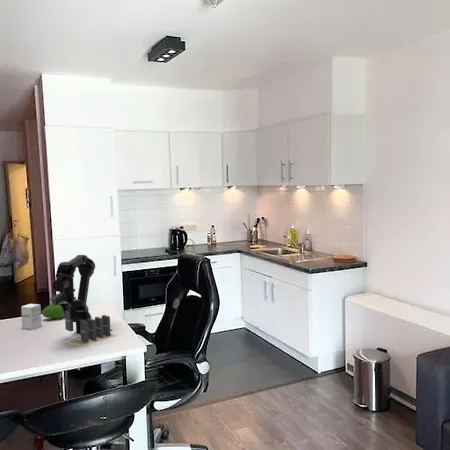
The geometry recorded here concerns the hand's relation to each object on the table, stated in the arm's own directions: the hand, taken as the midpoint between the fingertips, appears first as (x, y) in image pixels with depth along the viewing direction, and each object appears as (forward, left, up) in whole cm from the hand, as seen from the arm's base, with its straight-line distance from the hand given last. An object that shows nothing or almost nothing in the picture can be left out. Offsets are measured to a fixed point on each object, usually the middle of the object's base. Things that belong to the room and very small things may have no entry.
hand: (69, 318), depth 232 cm
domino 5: (+18, +3, -12) cm, 22 cm away
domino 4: (+14, +1, -12) cm, 18 cm away
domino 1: (0, 0, -6) cm, 6 cm away
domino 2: (+7, -3, -12) cm, 14 cm away
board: (+11, -1, -12) cm, 16 cm away
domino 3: (+11, -1, -12) cm, 16 cm away
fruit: (-9, +49, -12) cm, 51 cm away
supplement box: (-21, +35, -12) cm, 43 cm away
